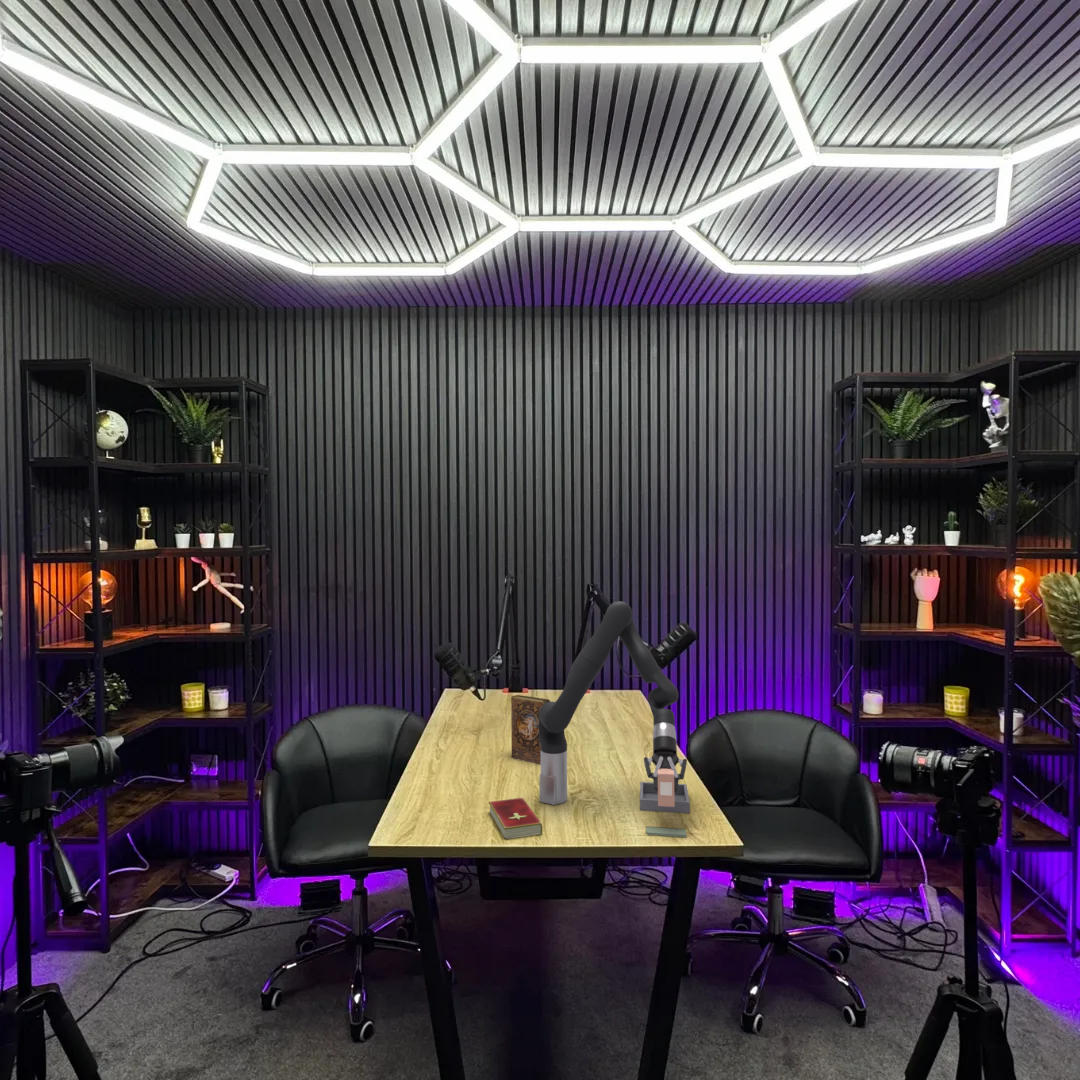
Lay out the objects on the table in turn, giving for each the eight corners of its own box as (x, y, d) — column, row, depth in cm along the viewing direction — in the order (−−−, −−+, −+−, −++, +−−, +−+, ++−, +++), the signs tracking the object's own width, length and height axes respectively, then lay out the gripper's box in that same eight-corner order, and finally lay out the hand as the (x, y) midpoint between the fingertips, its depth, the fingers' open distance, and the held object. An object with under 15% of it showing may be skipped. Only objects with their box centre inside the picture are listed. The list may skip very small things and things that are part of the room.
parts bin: (689, 816, 218) (689, 802, 218) (639, 813, 220) (639, 799, 220) (686, 797, 234) (686, 784, 233) (640, 794, 236) (640, 781, 236)
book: (509, 758, 275) (509, 697, 275) (516, 754, 280) (516, 694, 280) (543, 764, 267) (543, 702, 267) (550, 760, 272) (550, 699, 271)
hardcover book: (523, 809, 225) (523, 796, 225) (542, 835, 205) (542, 822, 205) (488, 813, 221) (488, 800, 221) (504, 841, 201) (504, 827, 201)
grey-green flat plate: (686, 837, 202) (686, 834, 202) (646, 834, 204) (646, 832, 204) (684, 820, 214) (684, 818, 214) (646, 818, 216) (646, 816, 216)
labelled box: (674, 807, 206) (674, 774, 206) (658, 806, 207) (657, 774, 207) (673, 800, 211) (673, 768, 211) (657, 799, 212) (657, 768, 212)
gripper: (642, 733, 217) (642, 784, 206) (687, 735, 215) (690, 786, 203) (642, 745, 223) (642, 795, 211) (686, 746, 220) (689, 797, 209)
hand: (666, 790), depth 207 cm, fingers closed on labelled box, 5 cm apart
